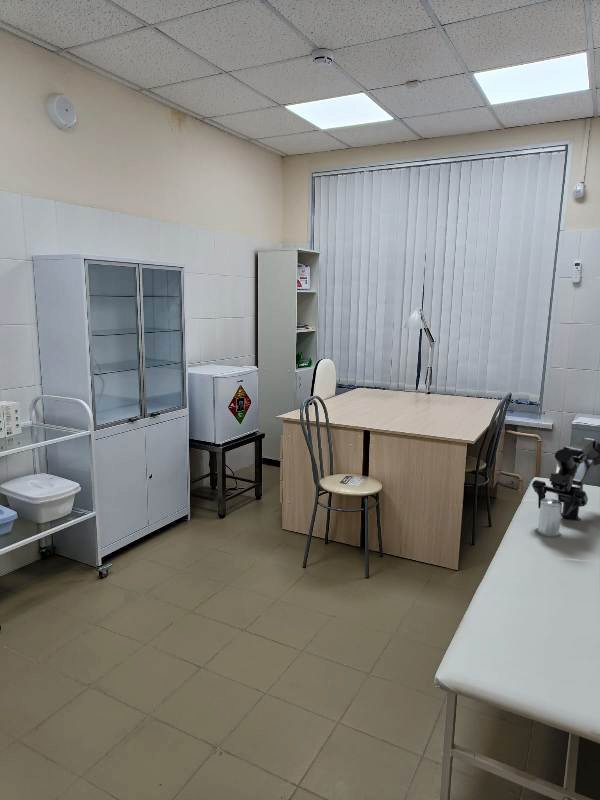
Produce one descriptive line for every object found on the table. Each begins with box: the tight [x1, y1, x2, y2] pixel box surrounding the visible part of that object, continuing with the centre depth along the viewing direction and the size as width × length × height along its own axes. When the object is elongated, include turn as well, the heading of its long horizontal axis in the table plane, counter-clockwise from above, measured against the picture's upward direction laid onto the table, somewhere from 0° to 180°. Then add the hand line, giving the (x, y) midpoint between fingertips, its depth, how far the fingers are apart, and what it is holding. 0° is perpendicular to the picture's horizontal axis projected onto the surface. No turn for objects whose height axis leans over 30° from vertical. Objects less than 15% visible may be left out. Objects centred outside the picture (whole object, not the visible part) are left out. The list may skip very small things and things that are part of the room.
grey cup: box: [537, 497, 563, 537], centre depth 202 cm, size 7×7×12 cm
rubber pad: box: [534, 528, 563, 539], centre depth 204 cm, size 9×9×1 cm
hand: (551, 511), depth 203 cm, fingers open, 9 cm apart
